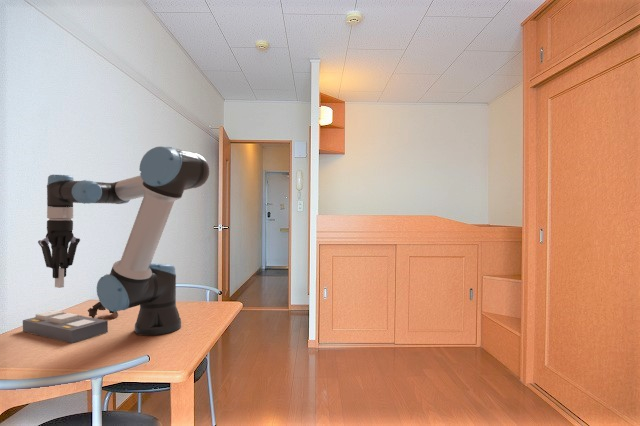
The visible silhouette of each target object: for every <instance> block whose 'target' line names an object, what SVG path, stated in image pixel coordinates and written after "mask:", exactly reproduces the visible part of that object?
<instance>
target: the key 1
mask: <svg viewBox="0 0 640 426" xmlns="http://www.w3.org/2000/svg"><path fill="white" fill-rule="evenodd" d="M64 313H65V312H64V311H59V310H50V311H43V312H40V313H37V314H36V313H35V317H36V319H38V320H43V321H47V320H51V318H50V317H54V316H58V315H62V314H64Z"/></svg>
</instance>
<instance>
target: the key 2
mask: <svg viewBox="0 0 640 426" xmlns="http://www.w3.org/2000/svg"><path fill="white" fill-rule="evenodd" d="M92 323H95V321H90V320H85V319H84V320H80V321H76V322H72V323H69V324H66V325H67V326H72V327H81V326H85V325H88V324H92Z"/></svg>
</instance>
